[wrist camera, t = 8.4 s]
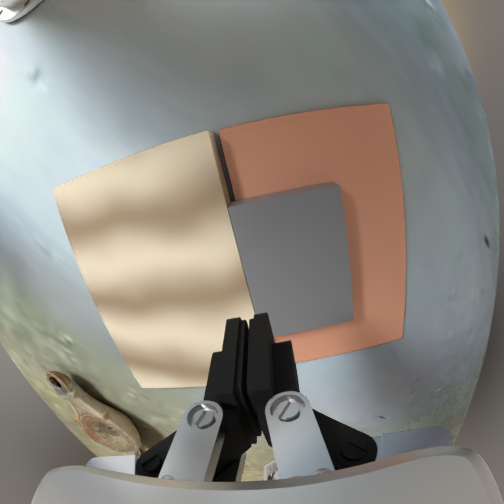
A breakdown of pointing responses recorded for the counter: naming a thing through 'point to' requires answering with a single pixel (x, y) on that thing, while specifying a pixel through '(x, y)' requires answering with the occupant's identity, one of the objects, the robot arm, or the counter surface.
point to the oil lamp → (98, 417)
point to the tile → (296, 256)
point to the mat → (354, 203)
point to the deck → (160, 257)
